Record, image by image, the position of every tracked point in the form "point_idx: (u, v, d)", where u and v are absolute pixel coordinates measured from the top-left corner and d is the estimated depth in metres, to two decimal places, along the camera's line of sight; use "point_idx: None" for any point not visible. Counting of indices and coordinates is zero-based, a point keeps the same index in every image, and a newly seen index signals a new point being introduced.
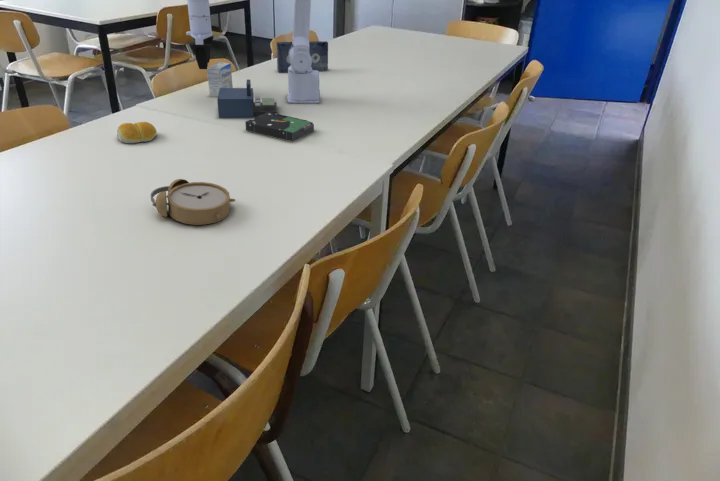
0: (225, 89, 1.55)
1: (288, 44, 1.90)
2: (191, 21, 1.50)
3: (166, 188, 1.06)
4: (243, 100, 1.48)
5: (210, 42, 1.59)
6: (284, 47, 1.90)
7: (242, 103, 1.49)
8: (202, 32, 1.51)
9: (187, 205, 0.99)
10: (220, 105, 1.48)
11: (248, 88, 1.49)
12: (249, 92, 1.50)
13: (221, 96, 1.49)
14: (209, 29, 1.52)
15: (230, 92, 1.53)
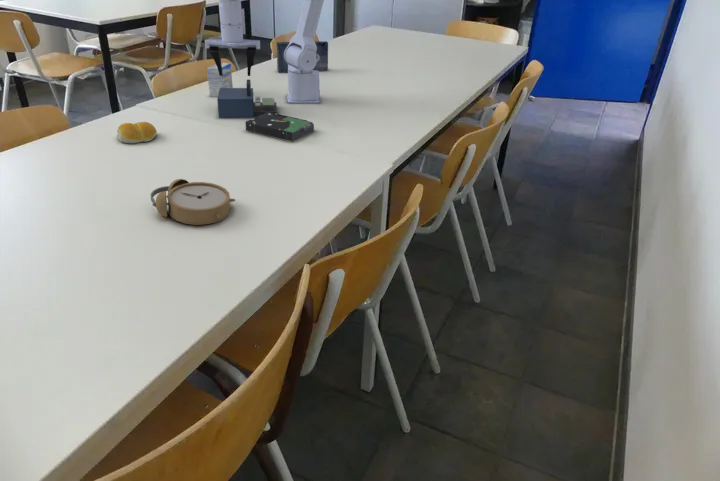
0: (225, 89, 1.55)
1: (288, 44, 1.90)
2: (238, 30, 1.45)
3: (166, 188, 1.06)
4: (243, 100, 1.48)
5: None
6: (283, 47, 1.90)
7: (242, 103, 1.49)
8: None
9: (187, 205, 0.99)
10: (220, 105, 1.48)
11: (248, 88, 1.49)
12: (249, 92, 1.50)
13: (221, 96, 1.49)
14: None
15: (230, 92, 1.53)
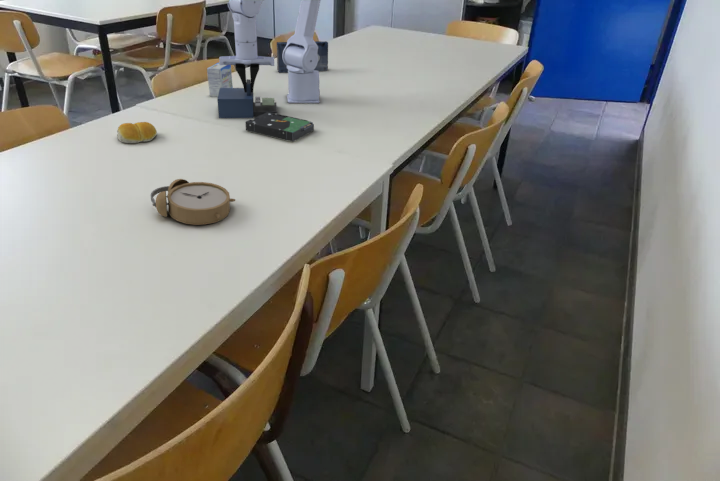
0: (225, 89, 1.55)
1: None
2: (253, 47, 1.45)
3: (166, 188, 1.06)
4: (243, 100, 1.48)
5: None
6: (284, 47, 1.90)
7: (242, 103, 1.49)
8: None
9: (187, 205, 0.99)
10: (220, 105, 1.48)
11: (248, 88, 1.49)
12: (249, 92, 1.50)
13: (221, 96, 1.49)
14: None
15: (230, 92, 1.53)
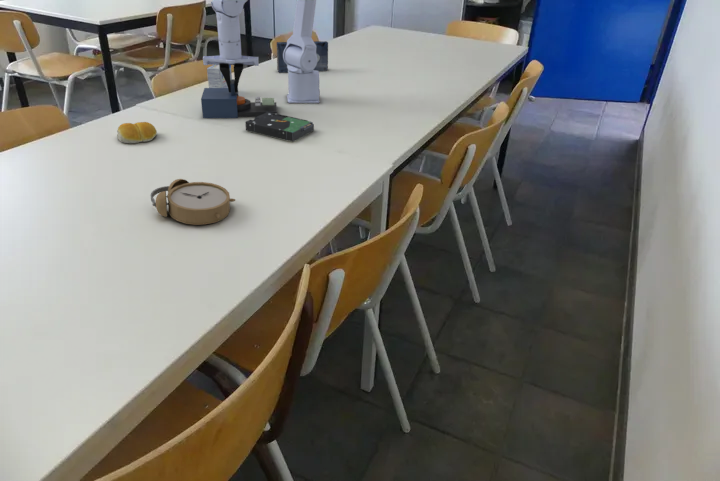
0: (210, 89, 1.54)
1: None
2: (237, 47, 1.44)
3: (166, 188, 1.06)
4: (227, 100, 1.47)
5: (229, 68, 1.50)
6: (284, 47, 1.90)
7: (226, 103, 1.48)
8: None
9: (187, 205, 0.99)
10: (204, 105, 1.47)
11: (232, 88, 1.49)
12: (233, 92, 1.49)
13: (205, 96, 1.48)
14: None
15: (215, 92, 1.52)
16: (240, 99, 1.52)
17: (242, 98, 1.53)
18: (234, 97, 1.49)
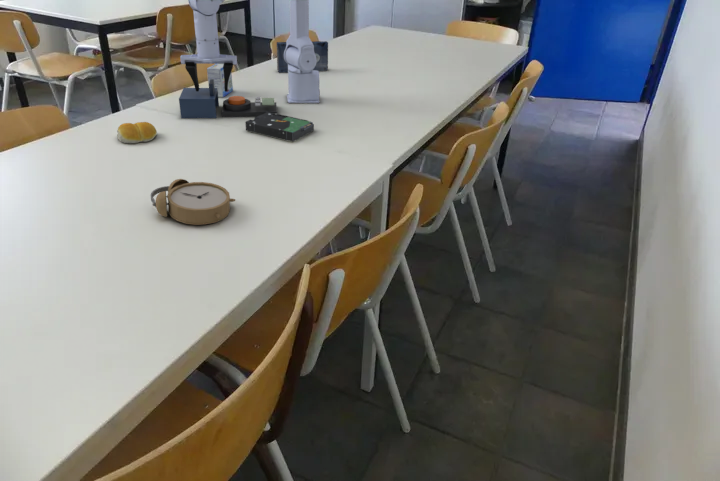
0: (189, 89, 1.53)
1: None
2: (214, 45, 1.43)
3: (166, 188, 1.06)
4: (205, 100, 1.47)
5: (196, 67, 1.49)
6: (283, 47, 1.90)
7: (204, 103, 1.47)
8: None
9: (187, 205, 0.99)
10: (182, 105, 1.46)
11: (211, 88, 1.48)
12: (212, 92, 1.49)
13: (183, 96, 1.47)
14: None
15: (194, 92, 1.51)
16: (240, 99, 1.52)
17: (242, 98, 1.53)
18: (212, 97, 1.48)
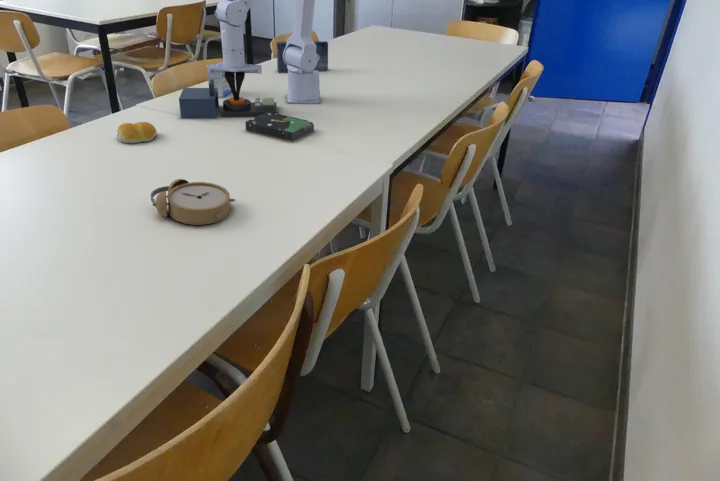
0: (189, 89, 1.53)
1: None
2: (240, 55, 1.45)
3: (166, 188, 1.06)
4: (205, 100, 1.47)
5: (234, 76, 1.52)
6: (284, 47, 1.90)
7: (204, 103, 1.47)
8: None
9: (187, 205, 0.99)
10: (182, 105, 1.46)
11: (211, 88, 1.48)
12: (212, 92, 1.49)
13: (183, 96, 1.47)
14: None
15: (194, 92, 1.51)
16: (240, 100, 1.52)
17: (242, 99, 1.53)
18: (212, 97, 1.48)
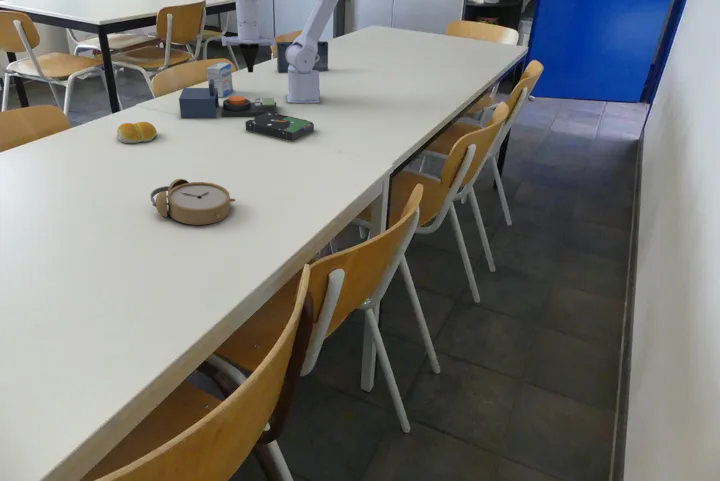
0: (189, 89, 1.53)
1: (288, 44, 1.90)
2: (254, 27, 1.50)
3: (166, 188, 1.06)
4: (205, 100, 1.47)
5: None
6: (283, 47, 1.90)
7: (204, 103, 1.47)
8: None
9: (187, 205, 0.99)
10: (182, 105, 1.46)
11: (211, 88, 1.48)
12: (212, 92, 1.49)
13: (183, 96, 1.47)
14: None
15: (194, 92, 1.51)
16: (240, 99, 1.52)
17: (242, 98, 1.53)
18: (212, 97, 1.48)
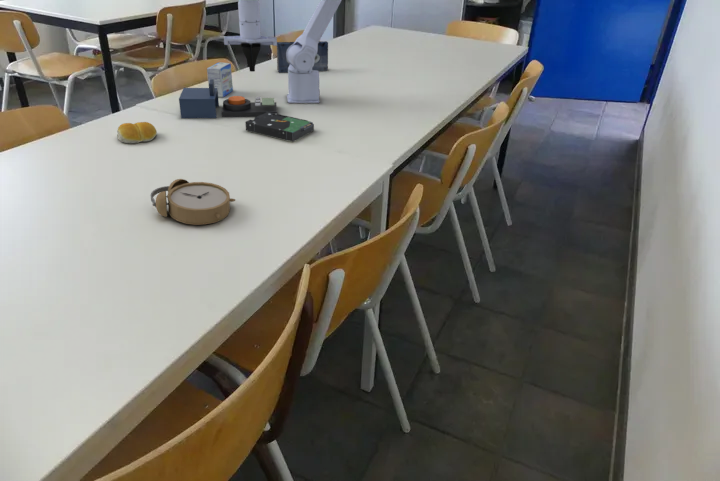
0: (189, 89, 1.53)
1: (288, 44, 1.90)
2: (256, 27, 1.50)
3: (166, 188, 1.06)
4: (205, 100, 1.47)
5: (250, 48, 1.57)
6: (283, 47, 1.90)
7: (204, 103, 1.47)
8: None
9: (187, 205, 0.99)
10: (182, 105, 1.46)
11: (211, 88, 1.48)
12: (212, 92, 1.49)
13: (183, 96, 1.47)
14: None
15: (194, 92, 1.51)
16: (240, 99, 1.52)
17: (242, 98, 1.53)
18: (212, 97, 1.48)
